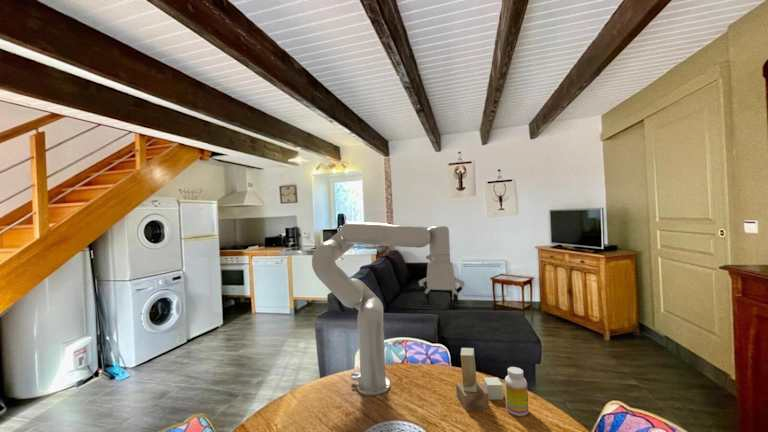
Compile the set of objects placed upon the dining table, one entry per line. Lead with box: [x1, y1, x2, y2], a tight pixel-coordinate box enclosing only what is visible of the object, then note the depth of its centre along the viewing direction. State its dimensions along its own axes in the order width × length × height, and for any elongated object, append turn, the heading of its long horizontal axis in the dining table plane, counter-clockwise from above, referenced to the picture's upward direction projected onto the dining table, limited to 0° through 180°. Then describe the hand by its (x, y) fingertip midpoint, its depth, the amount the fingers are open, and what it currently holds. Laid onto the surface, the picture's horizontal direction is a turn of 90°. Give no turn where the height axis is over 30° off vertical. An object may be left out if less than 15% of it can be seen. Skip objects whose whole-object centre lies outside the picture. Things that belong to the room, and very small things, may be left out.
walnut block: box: [455, 380, 490, 411], centre depth 104 cm, size 8×8×5 cm
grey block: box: [483, 376, 504, 401], centre depth 108 cm, size 5×5×5 cm
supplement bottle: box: [504, 366, 529, 417], centre depth 99 cm, size 7×7×13 cm
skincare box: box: [460, 347, 478, 392], centre depth 105 cm, size 6×4×12 cm
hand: (442, 303), depth 116 cm, fingers open, 9 cm apart
